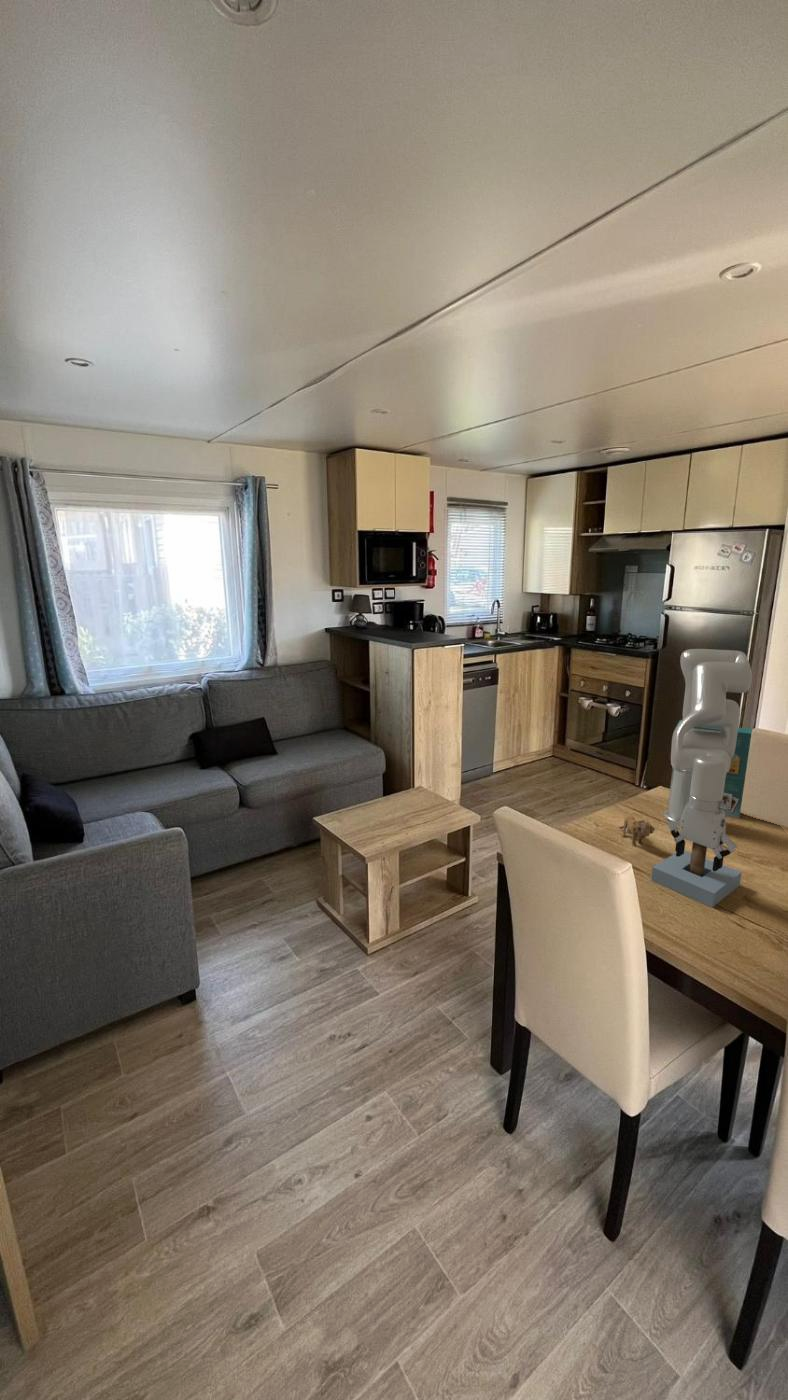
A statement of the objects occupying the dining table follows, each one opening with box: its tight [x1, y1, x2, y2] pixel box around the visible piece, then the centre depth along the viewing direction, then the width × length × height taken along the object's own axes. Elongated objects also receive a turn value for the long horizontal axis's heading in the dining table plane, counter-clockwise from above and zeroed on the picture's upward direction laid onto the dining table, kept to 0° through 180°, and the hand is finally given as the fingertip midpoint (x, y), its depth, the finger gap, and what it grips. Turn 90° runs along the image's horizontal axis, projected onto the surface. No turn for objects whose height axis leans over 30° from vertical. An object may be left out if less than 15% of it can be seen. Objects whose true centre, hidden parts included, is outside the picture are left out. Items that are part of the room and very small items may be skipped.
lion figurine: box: [619, 815, 656, 847], centre depth 176 cm, size 15×5×9 cm, turn 12°
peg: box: [689, 842, 708, 877], centre depth 151 cm, size 3×3×12 cm
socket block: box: [650, 849, 742, 908], centre depth 152 cm, size 16×16×4 cm
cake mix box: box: [668, 719, 753, 819], centre depth 195 cm, size 22×6×30 cm, turn 57°
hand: (697, 862), depth 151 cm, fingers open, 9 cm apart
